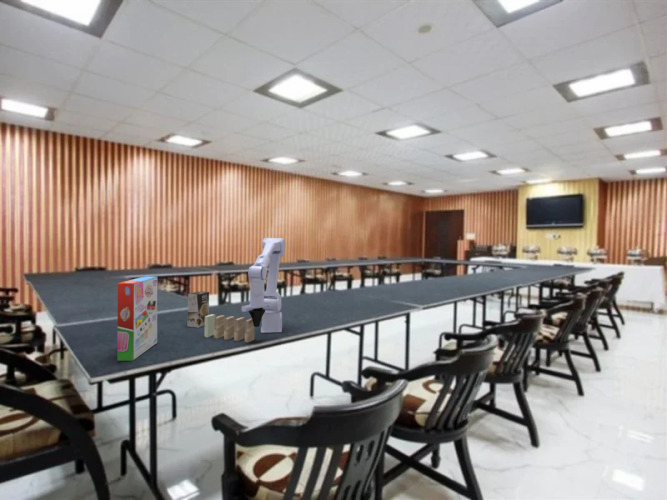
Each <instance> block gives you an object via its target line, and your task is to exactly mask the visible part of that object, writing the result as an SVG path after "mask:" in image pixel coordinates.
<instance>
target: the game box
mask: <svg viewBox="0 0 667 500" xmlns="http://www.w3.org/2000/svg"><path fill="white" fill-rule="evenodd" d="M116 324H117V325H116V326H117V332H116V333H117V336H116V338H117V339H116V340H117V341H116V342H117V343H116V344H117V348H116V349H117V353H116V357H117V358H116V360H117V362H119V361H120V362H121V361H123V362H125V361H126V362H130V361H131V362H133V361H134V360H136V359H137V358H139V356H141V355H143V354H144V353H145V352H147V351H148V350H150V349H151V348H152V347H154V346H155V345H157V344H158V276H149V275H148V276H145V275H144V276H141V277H137V278H134V279H129V280H124V281H121V282H118V283H117V323H116Z"/></svg>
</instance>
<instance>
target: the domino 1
mask: <svg viewBox="0 0 667 500" xmlns="http://www.w3.org/2000/svg"><path fill="white" fill-rule="evenodd" d="M215 317H216V314H213V313H211V314H209V315H208V316H205V325H204V338H209V337H212V336H214V319H215Z"/></svg>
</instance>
